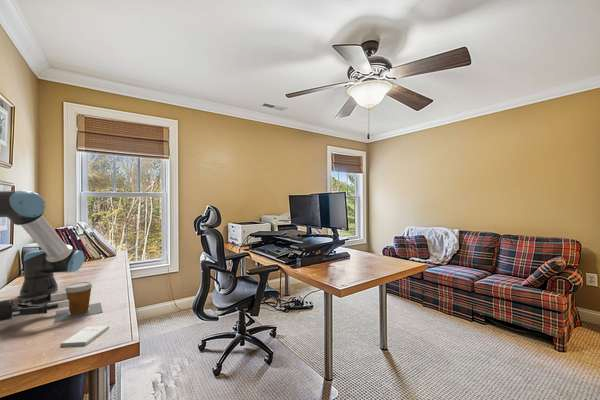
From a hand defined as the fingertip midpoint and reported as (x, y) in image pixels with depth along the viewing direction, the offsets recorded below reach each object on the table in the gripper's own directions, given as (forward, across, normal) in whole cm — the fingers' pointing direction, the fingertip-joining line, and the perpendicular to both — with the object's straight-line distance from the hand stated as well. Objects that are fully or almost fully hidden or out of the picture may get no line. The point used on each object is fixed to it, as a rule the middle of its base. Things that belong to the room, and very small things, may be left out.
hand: (69, 298), depth 118 cm
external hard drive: (+5, +30, -8) cm, 31 cm away
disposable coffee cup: (+3, -1, -7) cm, 8 cm away
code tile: (+3, -1, -7) cm, 8 cm away
